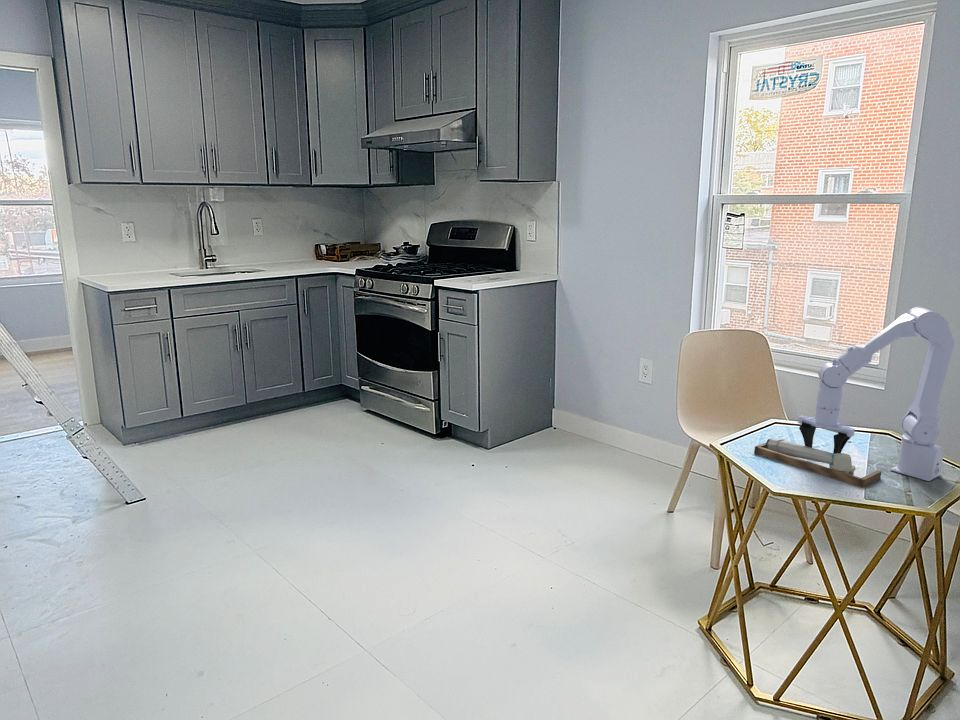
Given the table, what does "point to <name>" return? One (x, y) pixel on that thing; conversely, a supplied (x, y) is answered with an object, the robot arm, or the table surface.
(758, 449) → the walnut bay
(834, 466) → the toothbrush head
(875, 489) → the table surface
